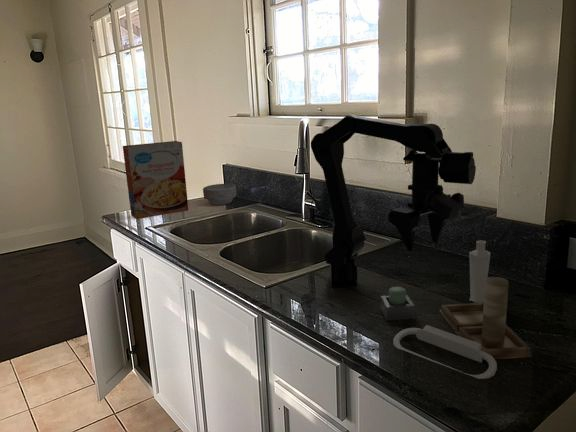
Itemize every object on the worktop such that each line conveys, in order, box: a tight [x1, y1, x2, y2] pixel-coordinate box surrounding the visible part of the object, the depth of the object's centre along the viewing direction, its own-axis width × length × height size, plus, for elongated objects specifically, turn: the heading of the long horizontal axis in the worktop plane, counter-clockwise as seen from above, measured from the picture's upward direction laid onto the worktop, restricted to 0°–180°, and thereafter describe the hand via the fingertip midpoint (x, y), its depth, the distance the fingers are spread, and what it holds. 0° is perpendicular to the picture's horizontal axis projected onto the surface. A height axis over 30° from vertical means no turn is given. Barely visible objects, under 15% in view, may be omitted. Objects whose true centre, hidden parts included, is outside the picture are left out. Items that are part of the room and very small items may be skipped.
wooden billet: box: [481, 276, 510, 349], centre depth 93 cm, size 4×4×13 cm
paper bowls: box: [202, 183, 237, 206], centre depth 230 cm, size 15×15×8 cm
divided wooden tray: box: [438, 302, 533, 361], centre depth 100 cm, size 10×21×2 cm, turn 2°
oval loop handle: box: [392, 324, 498, 380], centre depth 92 cm, size 20×8×4 cm, turn 44°
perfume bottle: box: [468, 239, 492, 303], centre depth 113 cm, size 5×4×15 cm
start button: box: [388, 286, 407, 305], centre depth 109 cm, size 4×4×4 cm
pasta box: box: [122, 140, 189, 220], centre depth 213 cm, size 23×8×30 cm, turn 122°
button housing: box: [380, 294, 416, 321], centre depth 109 cm, size 6×6×4 cm
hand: (422, 246), depth 116 cm, fingers open, 9 cm apart
